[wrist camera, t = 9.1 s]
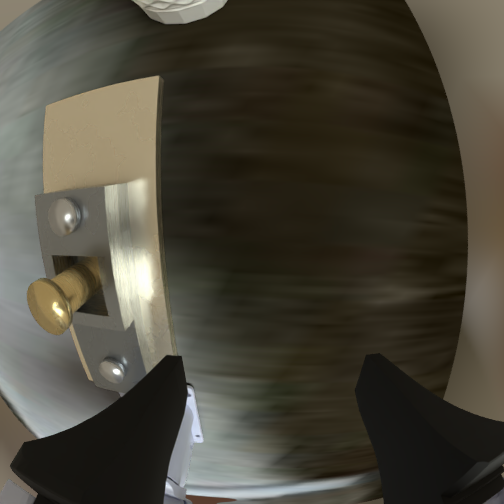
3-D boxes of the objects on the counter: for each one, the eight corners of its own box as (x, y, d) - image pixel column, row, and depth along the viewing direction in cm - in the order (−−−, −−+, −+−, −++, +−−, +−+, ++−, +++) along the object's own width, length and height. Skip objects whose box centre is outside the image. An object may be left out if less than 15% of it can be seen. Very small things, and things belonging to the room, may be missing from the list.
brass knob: (121, 289, 18) (73, 339, 12) (87, 286, 18) (36, 330, 12) (114, 246, 17) (58, 284, 11) (80, 246, 17) (21, 279, 11)
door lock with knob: (184, 390, 22) (173, 428, 17) (93, 374, 22) (73, 403, 17) (164, 80, 15) (136, 55, 10) (53, 107, 15) (15, 100, 10)
